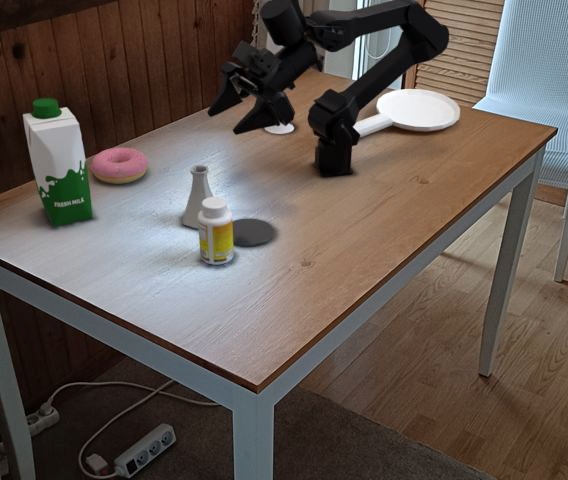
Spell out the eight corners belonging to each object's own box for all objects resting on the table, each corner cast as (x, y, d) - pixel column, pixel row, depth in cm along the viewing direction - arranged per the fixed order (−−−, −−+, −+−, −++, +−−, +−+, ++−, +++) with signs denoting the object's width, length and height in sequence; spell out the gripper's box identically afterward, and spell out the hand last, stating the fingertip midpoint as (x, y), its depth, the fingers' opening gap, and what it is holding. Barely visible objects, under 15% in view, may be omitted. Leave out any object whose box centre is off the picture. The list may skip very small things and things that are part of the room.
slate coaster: (266, 218, 135) (266, 215, 135) (279, 243, 128) (280, 240, 128) (218, 224, 133) (217, 221, 133) (229, 249, 126) (229, 247, 126)
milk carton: (85, 199, 140) (67, 93, 127) (99, 220, 133) (82, 111, 121) (38, 208, 136) (15, 101, 124) (50, 231, 130) (27, 120, 118)
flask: (216, 232, 131) (213, 180, 125) (177, 227, 132) (172, 175, 126) (227, 212, 136) (225, 161, 130) (189, 208, 137) (185, 157, 131)
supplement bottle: (238, 252, 126) (237, 197, 119) (225, 269, 122) (223, 213, 115) (208, 246, 127) (205, 191, 121) (194, 262, 123) (190, 207, 117)
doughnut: (160, 173, 148) (158, 154, 146) (116, 192, 142) (114, 172, 139) (124, 157, 154) (122, 138, 151) (81, 175, 147) (78, 155, 145)
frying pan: (363, 169, 156) (365, 149, 152) (306, 134, 166) (307, 114, 163) (475, 123, 172) (479, 104, 168) (416, 93, 182) (419, 75, 179)
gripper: (239, 14, 132) (173, 71, 131) (297, 43, 120) (225, 106, 119) (266, 65, 140) (204, 118, 139) (322, 96, 128) (255, 155, 127)
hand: (221, 123), depth 131 cm, fingers open, 9 cm apart
